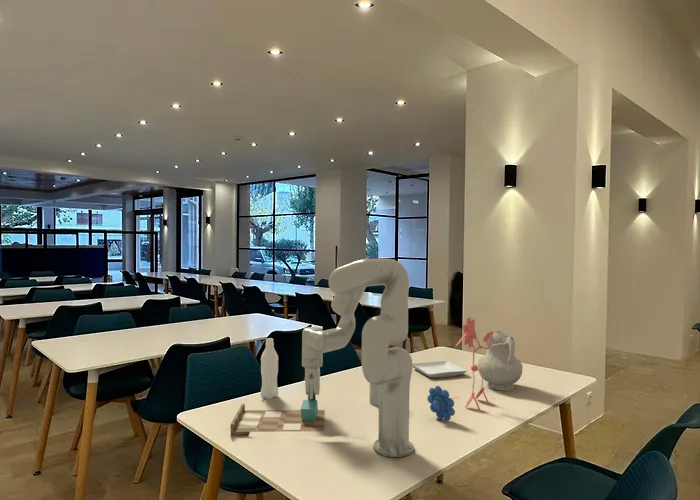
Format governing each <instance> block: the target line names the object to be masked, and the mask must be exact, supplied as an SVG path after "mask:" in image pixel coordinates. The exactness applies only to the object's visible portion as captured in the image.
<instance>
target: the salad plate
mask: <svg viewBox="0 0 700 500" xmlns="http://www.w3.org/2000/svg"><path fill="white" fill-rule="evenodd" d="M412 365H413V366H412V369H415V370H416V371H417V372H420V373H421V374H424V375H425V376H427V377H428V378H432V379H433V378H434V379H436V378H437V379H438V378H449V377H457V376H460V375H464V374H466V373H467V372H468V370H467V369H465V368H463V367H460V366H458V365H457V364H454V363H452V362H449V361H448V360H439V361H426V362H416V363H414V362H413V363H412Z"/></svg>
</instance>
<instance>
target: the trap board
mask: <svg viewBox="0 0 700 500" xmlns="http://www.w3.org/2000/svg"><path fill="white" fill-rule="evenodd" d="M245 405H246V403H241V405H240V407H239V409H238V410H237V412H236V414H235V416H234V417H233V419H232V421H231V423H230V437H249V435H250V433H253V432H257V433H258V432H268V433H269V432H270V433H271V432H324V431H325V417H326V416H325V414H326V413H325V411H326V410H325V409H318V414H317V418H316V421H302V418H301V409H273V410H272V409H269V410H266V409H263V410H261V409H260V410H257V409H256V410H255V409H254V410H253V409H252V410H245V409H246V406H245ZM266 412H280V416H265V415H266ZM284 424H300V429H284V426H285V425H284Z"/></svg>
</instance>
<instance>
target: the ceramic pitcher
mask: <svg viewBox="0 0 700 500" xmlns="http://www.w3.org/2000/svg"><path fill="white" fill-rule="evenodd" d="M487 333H488V332H485V333H484V336H485V335H486V334H487ZM484 336H483V337H484ZM488 343H489V340H487V341H486V342H484V344H485V347H486V348H487V347H488ZM515 345H516V340H515V338H514V337H513V336H509V335H507V333H505V332H503V331H502V330H501V331H500V330H497V331H495V333H493V336H492V337H491V340H490V344H489V348H488V349H486V352H485V354H484V355H483V356H482V357H480V358H479V360H478V361H477V367H478V370H480V371H478V370H477V371H478V373H479V375H480V377H481V378H482V372H481V371H483V380H484V381H486V382H487V384H486V387H487V388H488V389H492V390H495V391H496V390H497V391H501V392H502V391H503V392H504V391H505V392H506V391H513V390H514V389H515V387H514V386H513V385H514V384H516V383H517V382H518V381H519V380H520V379H521V377H522V375H523V363H522V362H521V361H520V360H519V359H518V358H517V357H516V356H515V353H516V351H515V350H516V349H515Z"/></svg>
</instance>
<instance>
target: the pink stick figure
mask: <svg viewBox="0 0 700 500" xmlns="http://www.w3.org/2000/svg"><path fill="white" fill-rule="evenodd" d="M465 322H466V323H465V324H463V325H462V330H463V336H462V337H461V338H460V339H459V341H458V342H457V343H456V344H455V346H454V348H456V347H458V346H459V345H460V344H461V343H462V341H463V343H464V345H465V346H466V345H467V347H468V348H469V349H471V347H472V348H473V352H472V365H471V366H470V371H472V376H473V380H472V381H473V382H472V393H471V395H470V397H469V398H468V400H467V401H466V404H465V408H467V407H468V406H469V405H470V403H471V402H472V401H473V400H474V401H475V404H476V406H477V409H478V410H481V408H480V405H479V404H478V402H477V400H478V399H479V397H480V396H481V395H482V394H483V396H484V398H485V400H486V403H487V404H489V403H490V402H489V399H488V398H487V395H486V394H485V387H483V380H484V379H483V371H481V372H482V377H481V386H480V390H479V391H478V392H477V394H476V393H475V392H474V387H475V374H474V372H477V371H478V372H479V371H480V370H478V364H475V352H477V351H478V350H480V349H485V350H487V349H488V348H489V344H490V340H491V337H492V336H493V335H494V332H493V331H492V330H491V331H489V332H486V333H487V334H486V335H485V334H484V335H485V336H483V338H482V340H483V342H484V343H485V342H486V341H487V340H489V343H488V347H486V346H482V345H481V344H480V342H479V340H478V338H477V332H476V327H475V324H476V320H475V318H473V319H471V316H468V317H467V318H466V321H465ZM474 340H475V341H476V343H477V344H478V347H477V348H475V345H474ZM475 395H476V396H475ZM457 398H458V396H456V397H453V398H452V400H453V399H457ZM492 399H494V400H495V398H492Z"/></svg>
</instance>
